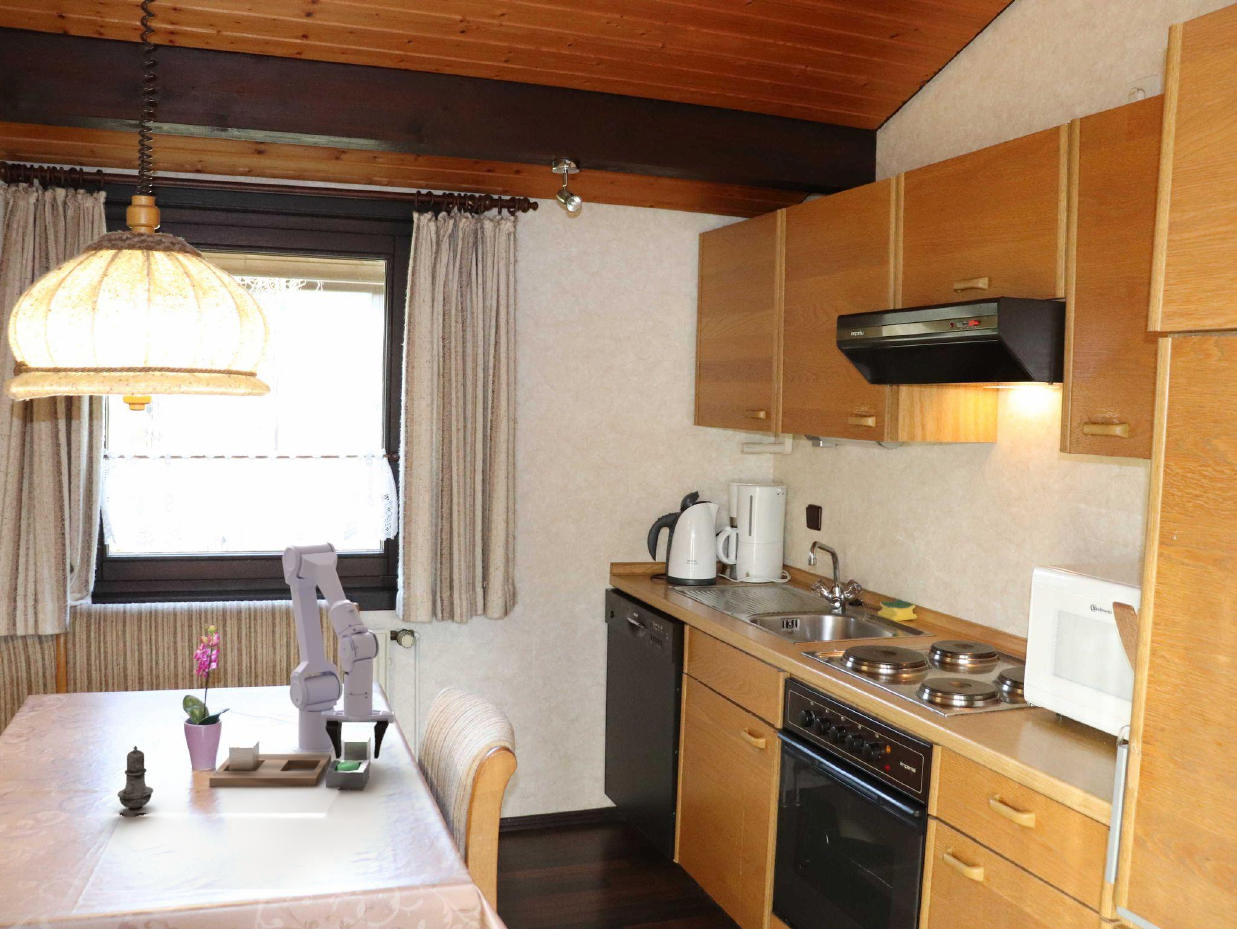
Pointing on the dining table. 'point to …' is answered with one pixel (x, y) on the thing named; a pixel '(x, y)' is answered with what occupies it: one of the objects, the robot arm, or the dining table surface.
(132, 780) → the salt shaker
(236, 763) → the block
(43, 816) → the dining table surface
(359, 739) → the block
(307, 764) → the wooden socket board
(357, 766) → the button
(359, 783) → the button box
